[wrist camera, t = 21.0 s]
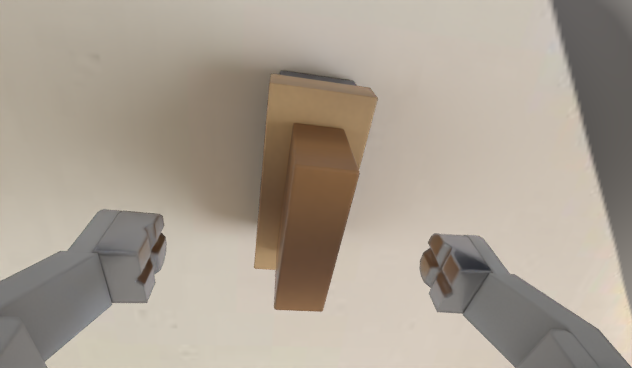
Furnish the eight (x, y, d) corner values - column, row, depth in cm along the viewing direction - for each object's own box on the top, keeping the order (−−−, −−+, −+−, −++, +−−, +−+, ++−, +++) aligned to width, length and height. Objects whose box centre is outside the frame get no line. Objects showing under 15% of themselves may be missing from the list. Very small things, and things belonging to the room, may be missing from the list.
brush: (272, 63, 12) (262, 117, 8) (362, 76, 13) (406, 135, 8) (258, 229, 17) (246, 330, 12) (326, 234, 17) (340, 333, 13)
